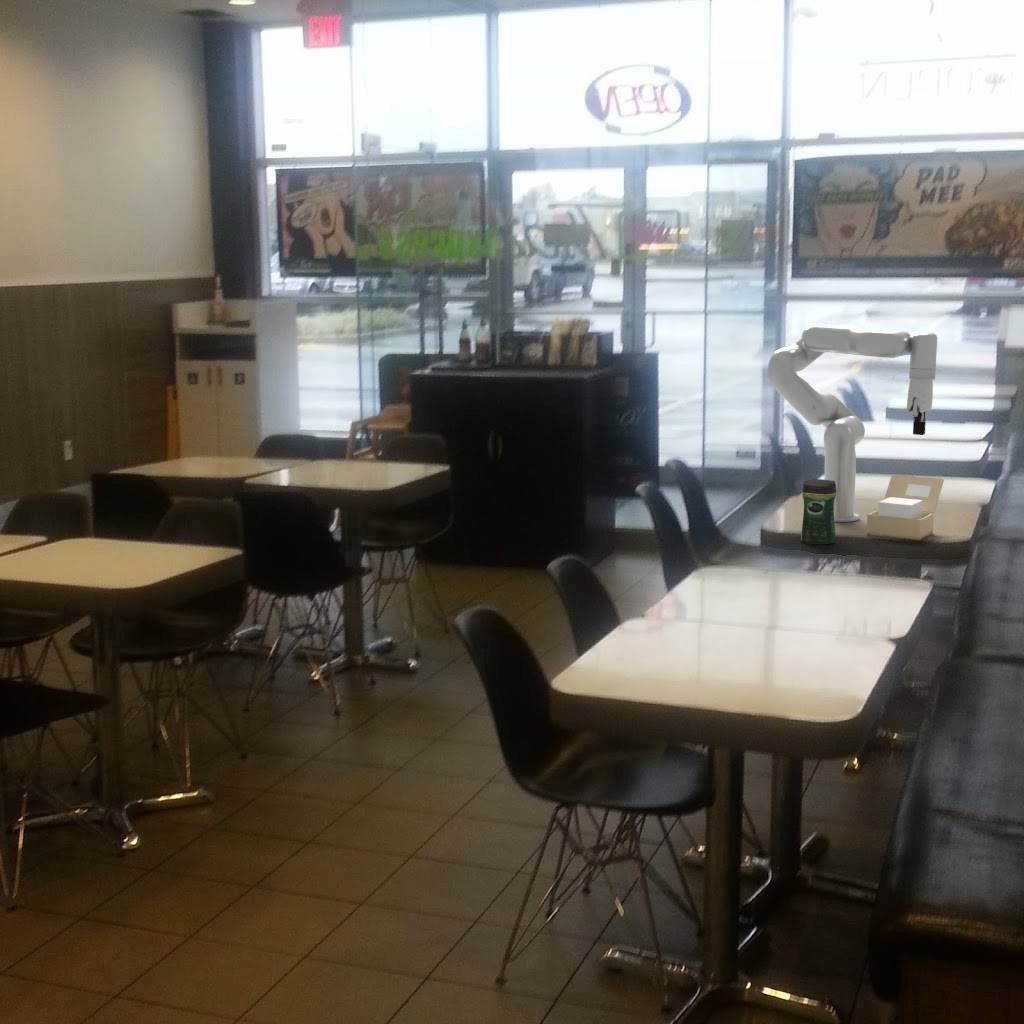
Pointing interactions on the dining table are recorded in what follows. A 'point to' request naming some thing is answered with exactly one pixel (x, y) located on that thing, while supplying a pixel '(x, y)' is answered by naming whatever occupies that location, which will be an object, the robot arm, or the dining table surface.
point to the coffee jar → (818, 511)
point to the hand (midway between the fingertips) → (918, 434)
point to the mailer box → (900, 519)
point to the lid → (916, 490)
